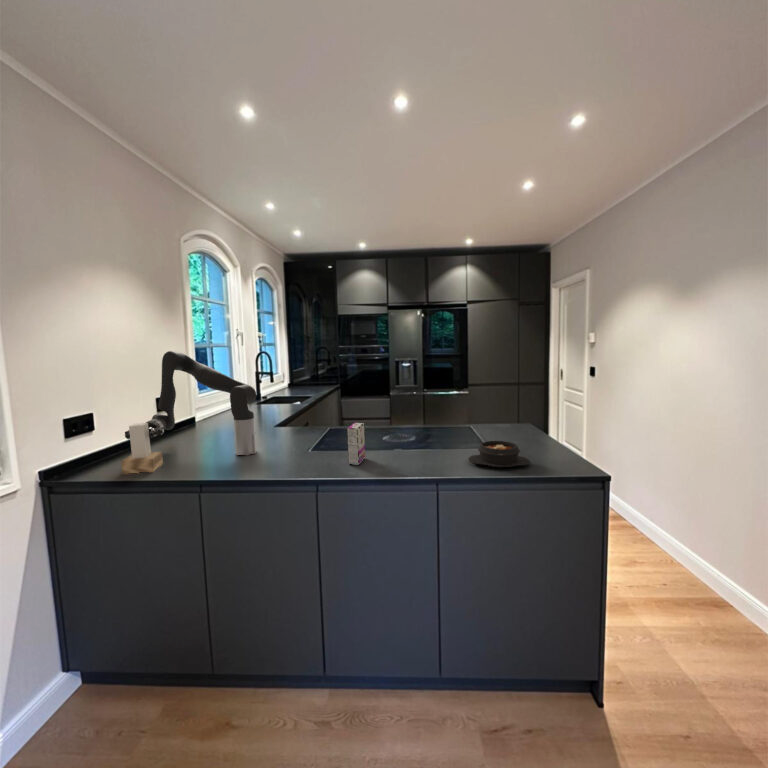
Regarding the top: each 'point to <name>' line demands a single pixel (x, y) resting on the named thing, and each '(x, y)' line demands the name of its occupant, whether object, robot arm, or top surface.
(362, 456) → the candy bar box
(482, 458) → the casserole
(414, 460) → the top surface
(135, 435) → the off-white column
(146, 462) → the oak block
